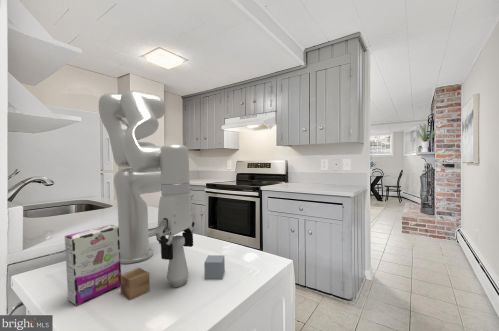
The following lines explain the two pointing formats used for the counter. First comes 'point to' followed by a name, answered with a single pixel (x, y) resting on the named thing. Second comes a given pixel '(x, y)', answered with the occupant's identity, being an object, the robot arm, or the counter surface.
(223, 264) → the slate-grey block
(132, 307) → the counter surface
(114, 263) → the candy bar box
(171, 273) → the salt shaker
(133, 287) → the walnut block
